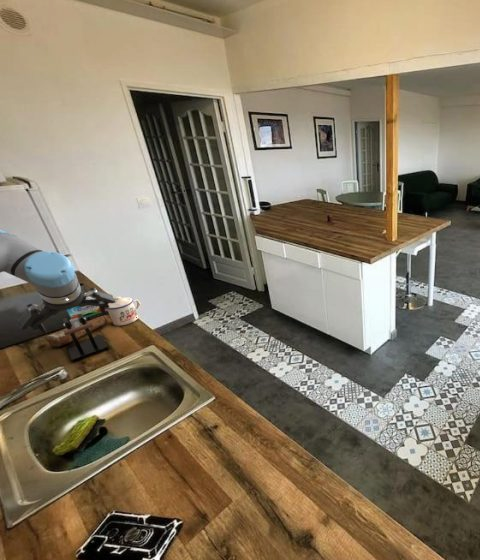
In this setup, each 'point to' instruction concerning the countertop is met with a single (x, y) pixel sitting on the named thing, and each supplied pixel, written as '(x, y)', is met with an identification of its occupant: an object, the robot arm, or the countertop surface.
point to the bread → (63, 339)
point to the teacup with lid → (123, 311)
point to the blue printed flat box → (83, 311)
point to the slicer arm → (77, 326)
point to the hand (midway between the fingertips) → (74, 320)
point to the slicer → (85, 343)
